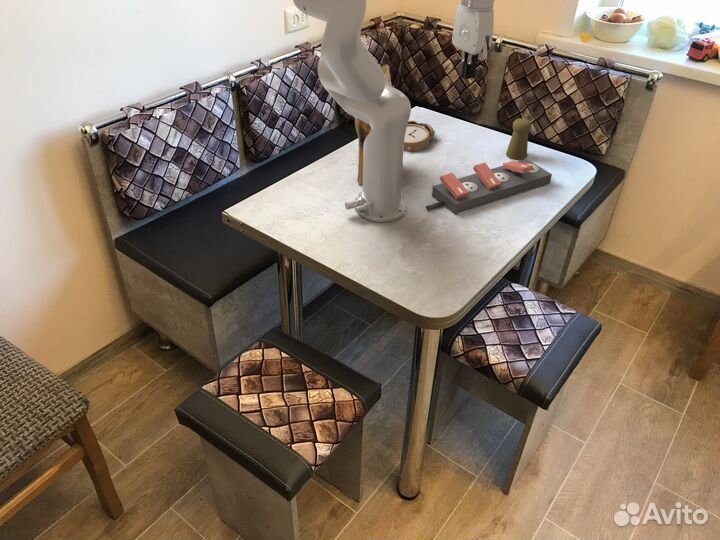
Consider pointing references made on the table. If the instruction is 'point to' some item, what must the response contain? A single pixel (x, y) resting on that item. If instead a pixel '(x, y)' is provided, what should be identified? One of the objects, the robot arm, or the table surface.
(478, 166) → the outlet rocker
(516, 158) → the cork
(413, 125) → the alarm clock
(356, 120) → the pancake mix bag
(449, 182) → the outlet rocker
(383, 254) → the table surface
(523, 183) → the power strip
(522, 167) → the rocker outlet
